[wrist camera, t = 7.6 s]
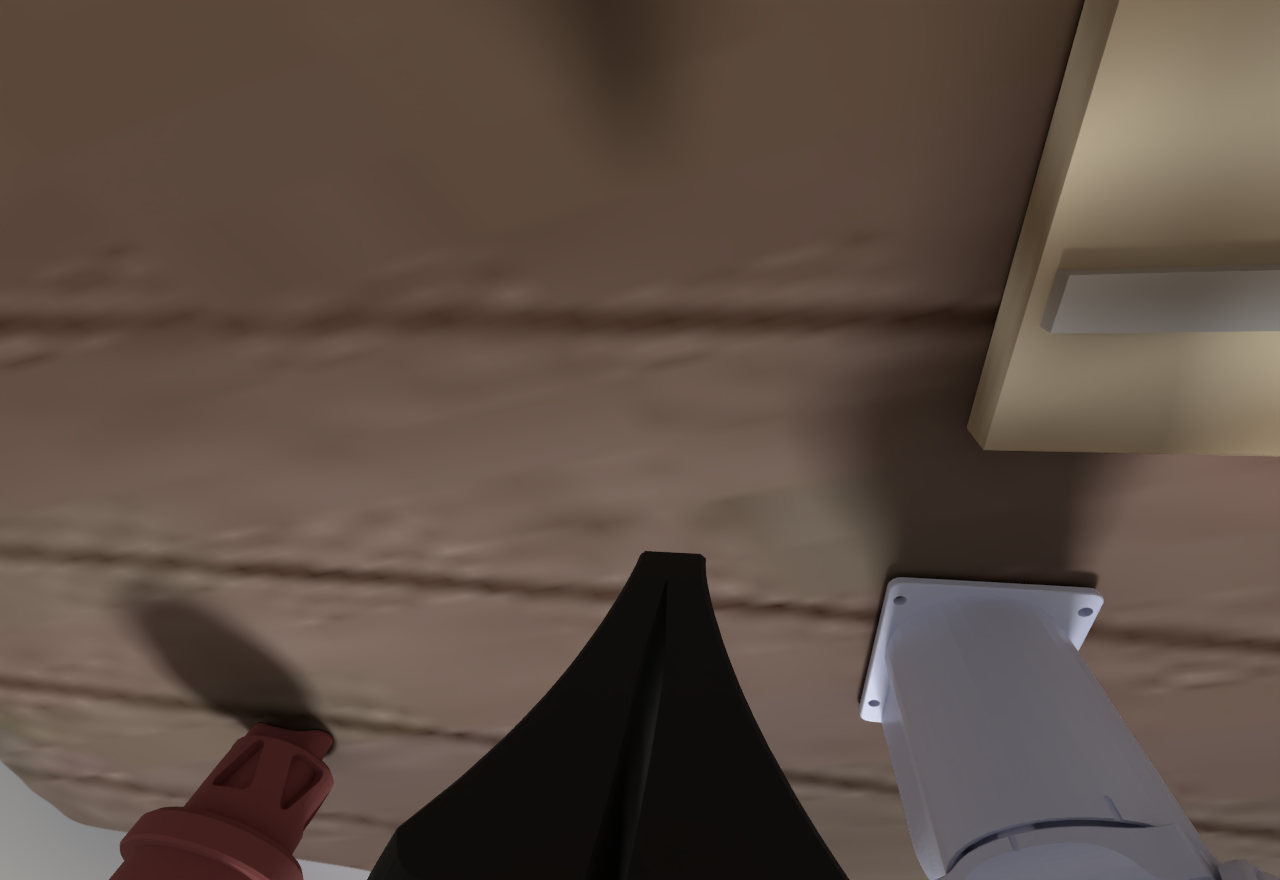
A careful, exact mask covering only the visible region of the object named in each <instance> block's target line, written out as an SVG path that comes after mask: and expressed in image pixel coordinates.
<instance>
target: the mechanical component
mask: <svg viewBox="0 0 1280 880" xmlns="http://www.w3.org/2000/svg"><path fill="white" fill-rule="evenodd" d="M332 743H333V740H332V737H331V735H330V734H328V733H327V732H325V731H322V730H312V731H296V730H288V729H283V728H279V727H275V726H272V725H269V724H265V723H258V724H255V725H254V726H253V727H252V728H251V729H250V731H249V732H248V733H247V734H246V736H245V737H242V738H240V739H238V740H237V741H236V742H235V744H234V745H233V746H232V748H231V750H230V751H229V752H228V753H227V754H226V755H225V757H224V758H223V759H222V760H221V761H220V762H219V764H218V765H217V766H216V767H215V769H214V770H213V771H212V772H211V773H210V775H209V776H208V777H207V778H206V780H205V781H204V782H203V783H202V785H201V786H200V787H199V788H198V790H197V791H196V792H195V793H194V795H193V796H192V797H191V798H190V800H189V801H188V802H187V803H186V805H185V806H184V807H164V808H160V809H157V810H154V811H151V812H148V813H145V814H144V815H143V816H142V817H141V818H140V819H139V820H138V821H137V823H136V824H135V825H134V826H133V827H132V829H131V830H130V831H129V832H128V833H127V835H126V836H125V837H124V838H123V839H122V841H121V842H120V852H121V855H122V857H123V859H124V860H125V861H124V862H123V863H122V864H121V866H120V867H119V868H118V869H117V871H116V872H115V873H114V874H113V876H112V877H111V878H110V879H109V880H303V875H302V870H301V867H300V865H299V863H298V861H297V860H296V859H295V858H294V857H293V856H292V854H293V852H294V850H295V849H296V847H297V845H298V844H299V842H300V840H301V839H302V837H303V831H304V830H305V828H306V827H307V825H308V824H309V823H310V821H311V820H312V818H313V817H314V815H315V814H316V812H317V811H318V809H319V808H320V806H321V805H322V803H323V802H324V800H325V799H326V797H327V795H328V794H329V792H330V791H331V789H332V787H333V784H334V781H333V777H332V774H331V772H330V769H329V768H328V766H327V765H326V764H325V763H324V762H323V761H322V759H323V757H324V756H325V754H326V753H327V751H328V750H329V748H330V746H331V745H332Z"/></svg>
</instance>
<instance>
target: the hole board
mask: <svg viewBox="0 0 1280 880" xmlns="http://www.w3.org/2000/svg"><path fill="white" fill-rule="evenodd" d="M967 429H968V431H969V432H970V433H971V435H972V436H973V437H974V439H975V440H976V441H977V442H978V444H979V445H980V446H981V448H982V449H983V450H1002V451H1050V452H1098V453H1146V454H1194V455H1242V456H1280V0H1085V2H1084V6H1083V10H1082V13H1081V17H1080V20H1079V24H1078V28H1077V31H1076V35H1075V38H1074V42H1073V46H1072V49H1071V53H1070V56H1069V60H1068V64H1067V67H1066V71H1065V75H1064V78H1063V82H1062V85H1061V89H1060V93H1059V96H1058V100H1057V103H1056V107H1055V111H1054V114H1053V118H1052V121H1051V125H1050V129H1049V132H1048V136H1047V139H1046V143H1045V147H1044V150H1043V154H1042V157H1041V161H1040V165H1039V168H1038V172H1037V175H1036V179H1035V183H1034V186H1033V190H1032V194H1031V197H1030V201H1029V204H1028V208H1027V212H1026V215H1025V219H1024V222H1023V226H1022V230H1021V233H1020V237H1019V240H1018V244H1017V248H1016V251H1015V255H1014V258H1013V262H1012V266H1011V269H1010V273H1009V276H1008V280H1007V284H1006V287H1005V291H1004V295H1003V298H1002V302H1001V305H1000V309H999V313H998V316H997V320H996V323H995V327H994V331H993V334H992V338H991V341H990V345H989V349H988V352H987V356H986V359H985V363H984V367H983V370H982V374H981V377H980V381H979V385H978V388H977V392H976V395H975V399H974V403H973V406H972V410H971V414H970V417H969V421H968V424H967Z"/></svg>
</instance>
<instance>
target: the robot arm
mask: <svg viewBox="0 0 1280 880" xmlns="http://www.w3.org/2000/svg"><path fill="white" fill-rule="evenodd" d="M898 596H902V597H900V598H896V597H898ZM1103 602H1104V599H1103V597H1102V595H1101V594H1100V593H1099V592H1098V591H1097V590H1096V589H1094V588H1086V587H1069V586H1051V585H1033V584H1015V583H997V582H979V581H961V580H943V579H925V578H907V577H898V578H895V579H892V580H891V581H890V582H889V583H888V585H887V589H886V594H885V598H884V602H883V607H882V611H881V615H880V619H879V624H878V628H877V632H876V637H875V641H874V645H873V650H872V654H871V658H870V663H869V667H868V671H867V676H866V680H865V684H864V688H863V693H862V697H861V701H860V706H859V712H860V717H861V718H862V719H864V720H866V721H871V722H882V725H883V729H884V733H885V737H886V741H887V745H888V749H889V753H890V757H891V761H892V765H893V769H894V773H895V777H896V781H897V785H898V789H899V793H900V797H901V801H902V805H903V809H904V813H905V817H906V821H907V825H908V829H909V832H910V836H911V840H912V844H913V847H914V850H915V853H916V855H917V858H918V860H919V862H920V864H921V866H922V868H923V870H924V872H925V874H926V875H927V877H928V878H929V880H1280V879H1279V878H1277V877H1275V876H1273V875H1271V874H1269V873H1266V872H1263V871H1261V870H1260V869H1259V868H1258V867H1257V866H1255V865H1254V864H1252V863H1251V862H1249V861H1247V860H1239V859H1236V860H1232V861H1228V862H1224V863H1221V862H1220V861H1219V860H1218V859H1217V858H1216V857H1214V856H1213V855H1212V854H1211V852H1210V851H1209V849H1208V848H1207V846H1206V845H1205V843H1204V842H1203V840H1202V839H1201V837H1200V836H1199V834H1198V832H1197V831H1196V829H1195V828H1194V826H1193V825H1192V823H1191V822H1190V820H1189V819H1188V817H1187V816H1186V814H1185V813H1184V811H1183V810H1182V808H1181V807H1180V805H1179V804H1178V802H1177V801H1176V799H1175V798H1174V796H1173V794H1172V793H1171V791H1170V790H1169V788H1168V787H1167V785H1166V784H1165V782H1164V781H1163V779H1162V778H1161V776H1160V775H1159V773H1158V772H1157V770H1156V769H1155V767H1154V766H1153V764H1152V763H1151V761H1150V760H1149V758H1148V757H1147V755H1146V753H1145V752H1144V750H1143V749H1142V747H1141V746H1140V744H1139V743H1138V741H1137V740H1136V738H1135V737H1134V735H1133V734H1132V732H1131V731H1130V729H1129V728H1128V726H1127V725H1126V723H1125V722H1124V720H1123V719H1122V717H1121V715H1120V714H1119V712H1118V711H1117V709H1116V708H1115V706H1114V705H1113V703H1112V702H1111V700H1110V699H1109V697H1108V696H1107V694H1106V693H1105V691H1104V690H1103V688H1102V687H1101V685H1100V684H1099V682H1098V681H1097V679H1096V677H1095V676H1094V674H1093V673H1092V671H1091V670H1090V668H1089V667H1088V665H1087V664H1086V662H1085V661H1084V659H1083V658H1082V656H1081V655H1080V653H1079V652H1078V651H1079V649H1080V647H1081V645H1082V643H1083V641H1084V639H1085V637H1086V635H1087V634H1088V632H1089V630H1090V628H1091V626H1092V624H1093V622H1094V620H1095V618H1096V616H1097V614H1098V612H1099V610H1100V609H1101V607H1102V605H1103ZM367 880H849V878H848V877H847V876H846V874H845V873H844V871H843V870H842V868H841V867H840V865H839V864H838V862H837V861H836V859H835V858H834V856H833V855H832V853H831V851H830V850H829V848H828V847H827V845H826V844H825V842H824V841H823V839H822V838H821V836H820V834H819V833H818V831H817V830H816V828H815V826H814V825H813V823H812V821H811V820H810V818H809V817H808V815H807V813H806V812H805V810H804V808H803V807H802V805H801V803H800V802H799V800H798V798H797V797H796V795H795V793H794V791H793V790H792V788H791V786H790V784H789V782H788V781H787V779H786V777H785V775H784V773H783V772H782V770H781V768H780V766H779V764H778V763H777V761H776V759H775V757H774V755H773V754H772V752H771V750H770V748H769V746H768V744H767V742H766V740H765V738H764V736H763V734H762V732H761V730H760V728H759V726H758V724H757V722H756V720H755V718H754V716H753V714H752V712H751V709H750V707H749V705H748V703H747V701H746V699H745V696H744V694H743V692H742V689H741V687H740V685H739V682H738V680H737V677H736V675H735V672H734V670H733V667H732V665H731V662H730V659H729V657H728V654H727V651H726V649H725V646H724V643H723V640H722V637H721V634H720V630H719V627H718V624H717V621H716V618H715V614H714V610H713V607H712V603H711V598H710V594H709V589H708V584H707V577H706V558H704V557H703V556H702V555H701V554H690V553H671V552H652V551H645V552H644V553H642V554H641V555H640V557H639V559H638V561H637V564H636V566H635V568H634V570H633V572H632V573H631V575H630V577H629V579H628V581H627V583H626V584H625V586H624V588H623V589H622V591H621V593H620V595H619V596H618V598H617V600H616V601H615V603H614V604H613V606H612V607H611V609H610V610H609V612H608V614H607V615H606V617H605V618H604V620H603V621H602V623H601V624H600V626H599V627H598V629H597V630H596V631H595V633H594V634H593V636H592V637H591V638H590V640H589V641H588V642H587V644H586V645H585V646H584V648H583V649H582V651H581V652H580V653H579V655H578V656H577V657H576V659H575V660H574V661H573V662H572V664H571V665H570V666H569V667H568V669H567V670H566V671H565V672H564V674H563V675H562V676H561V677H560V678H559V680H558V681H557V682H556V683H555V684H554V685H553V687H552V688H551V689H550V690H549V691H548V692H547V693H546V695H545V696H544V697H543V698H542V699H541V700H540V701H539V702H538V703H537V704H536V705H535V706H534V707H533V709H532V710H531V711H530V712H529V713H528V714H527V715H526V716H525V717H524V718H523V719H522V720H521V721H520V722H519V723H518V724H517V725H516V726H515V727H514V728H513V729H512V730H511V731H510V732H509V733H508V734H507V735H506V736H505V737H504V738H503V739H502V740H501V741H500V742H499V743H498V744H497V745H496V746H494V747H493V748H492V749H491V750H490V751H489V752H488V753H487V754H486V755H485V756H483V757H482V758H481V759H480V760H479V761H478V762H477V763H476V764H475V765H474V766H472V767H471V768H470V769H469V770H468V771H467V772H466V773H465V774H464V775H462V776H461V777H460V778H459V779H458V780H457V781H455V782H454V783H453V784H452V785H451V786H449V787H448V788H447V789H446V790H444V791H443V792H442V793H441V794H439V795H438V796H437V797H436V798H434V799H433V800H432V801H431V802H429V803H428V804H427V805H426V806H424V807H423V808H422V809H421V810H419V811H418V812H417V813H416V814H414V815H413V816H412V817H411V818H409V819H408V820H407V821H406V822H404V823H403V824H402V825H400V826H399V827H398V828H397V829H396V831H395V833H394V834H393V836H392V838H391V839H390V841H389V843H388V844H387V846H386V848H385V849H384V851H383V853H382V854H381V856H380V858H379V859H378V861H377V863H376V865H375V866H374V868H373V870H372V871H371V873H370V875H369V877H368V879H367Z"/></svg>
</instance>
